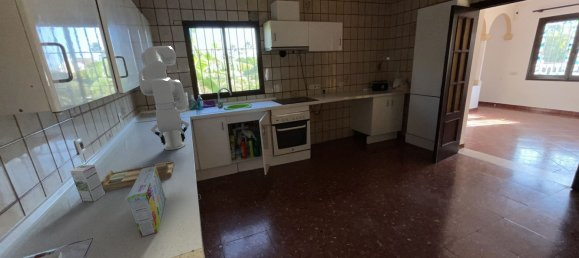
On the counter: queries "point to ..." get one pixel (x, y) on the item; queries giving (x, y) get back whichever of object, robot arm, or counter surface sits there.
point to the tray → (129, 177)
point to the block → (162, 167)
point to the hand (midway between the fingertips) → (174, 142)
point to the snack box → (147, 201)
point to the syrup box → (87, 183)
